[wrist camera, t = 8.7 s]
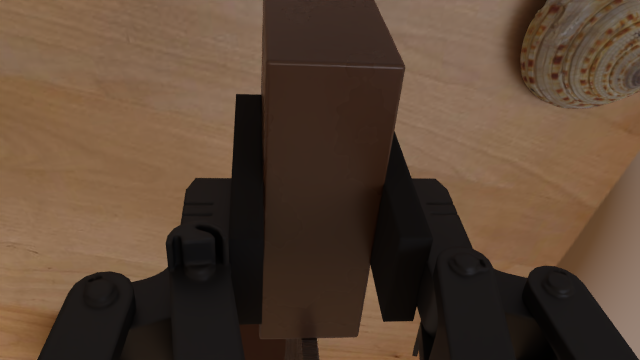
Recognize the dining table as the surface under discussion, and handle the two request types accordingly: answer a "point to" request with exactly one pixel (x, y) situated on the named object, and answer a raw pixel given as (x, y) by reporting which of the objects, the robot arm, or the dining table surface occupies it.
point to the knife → (323, 163)
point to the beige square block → (260, 345)
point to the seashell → (583, 52)
